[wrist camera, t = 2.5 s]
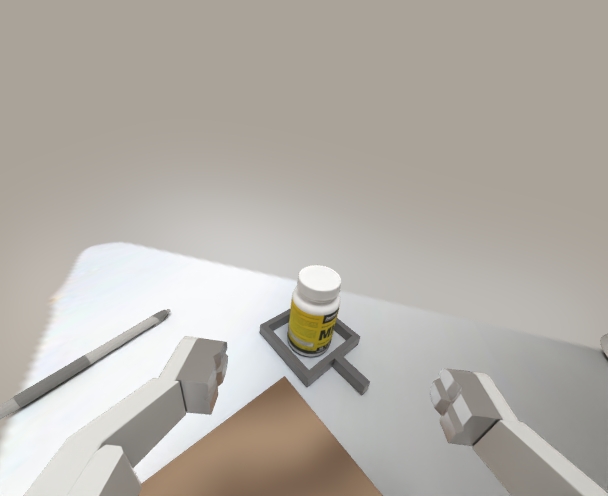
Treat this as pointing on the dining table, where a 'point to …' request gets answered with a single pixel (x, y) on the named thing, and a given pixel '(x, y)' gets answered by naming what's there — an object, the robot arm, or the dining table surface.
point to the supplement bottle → (314, 310)
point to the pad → (265, 455)
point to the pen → (77, 365)
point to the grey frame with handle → (331, 360)
